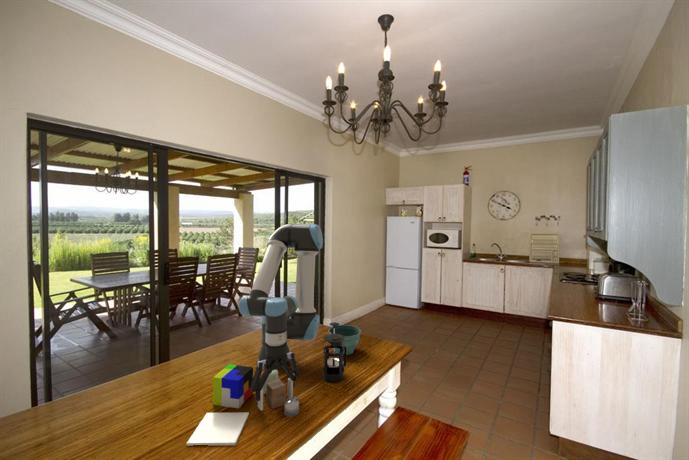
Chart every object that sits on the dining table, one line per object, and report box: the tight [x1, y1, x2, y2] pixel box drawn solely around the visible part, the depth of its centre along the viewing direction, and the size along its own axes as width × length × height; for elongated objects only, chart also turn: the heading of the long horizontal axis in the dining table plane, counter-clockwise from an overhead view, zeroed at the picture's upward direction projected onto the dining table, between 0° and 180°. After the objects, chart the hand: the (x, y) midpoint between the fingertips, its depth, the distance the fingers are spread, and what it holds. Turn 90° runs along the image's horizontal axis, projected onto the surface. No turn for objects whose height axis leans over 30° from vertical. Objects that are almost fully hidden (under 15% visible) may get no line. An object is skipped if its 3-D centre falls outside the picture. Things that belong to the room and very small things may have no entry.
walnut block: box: [265, 378, 286, 410], centre depth 110 cm, size 5×5×7 cm
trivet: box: [186, 411, 250, 447], centre depth 96 cm, size 14×14×1 cm
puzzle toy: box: [212, 363, 254, 409], centre depth 112 cm, size 10×10×10 cm
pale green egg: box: [261, 369, 279, 395], centre depth 118 cm, size 6×6×7 cm
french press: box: [321, 321, 347, 384], centre depth 129 cm, size 12×9×23 cm
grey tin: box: [283, 396, 300, 418], centre depth 105 cm, size 5×5×4 cm
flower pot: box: [328, 324, 361, 356], centre depth 154 cm, size 16×16×11 cm
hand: (275, 402), depth 110 cm, fingers open, 11 cm apart
